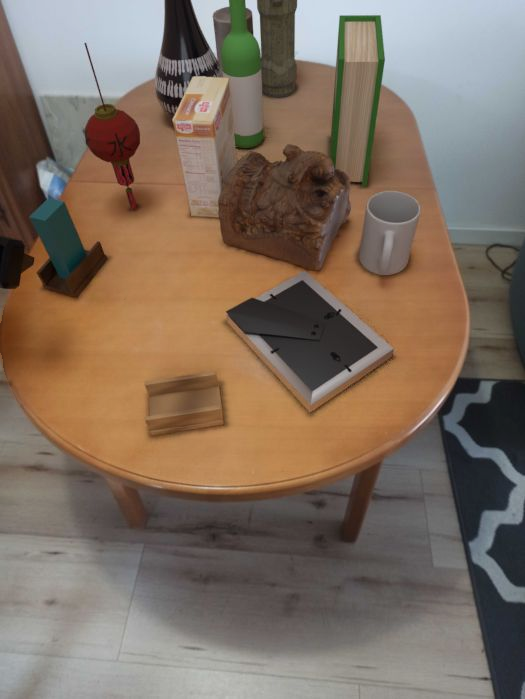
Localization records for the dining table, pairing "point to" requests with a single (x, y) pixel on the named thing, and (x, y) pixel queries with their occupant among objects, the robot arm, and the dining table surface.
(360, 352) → the picture frame
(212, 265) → the dining table surface
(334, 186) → the sculpture
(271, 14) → the thermos
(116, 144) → the lantern
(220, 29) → the pillar candle
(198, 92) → the coffeecake box
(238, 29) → the bottle
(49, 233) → the teal rectangular block
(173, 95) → the vase
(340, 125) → the hardback book
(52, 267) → the rack
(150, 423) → the stand
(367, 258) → the mug
